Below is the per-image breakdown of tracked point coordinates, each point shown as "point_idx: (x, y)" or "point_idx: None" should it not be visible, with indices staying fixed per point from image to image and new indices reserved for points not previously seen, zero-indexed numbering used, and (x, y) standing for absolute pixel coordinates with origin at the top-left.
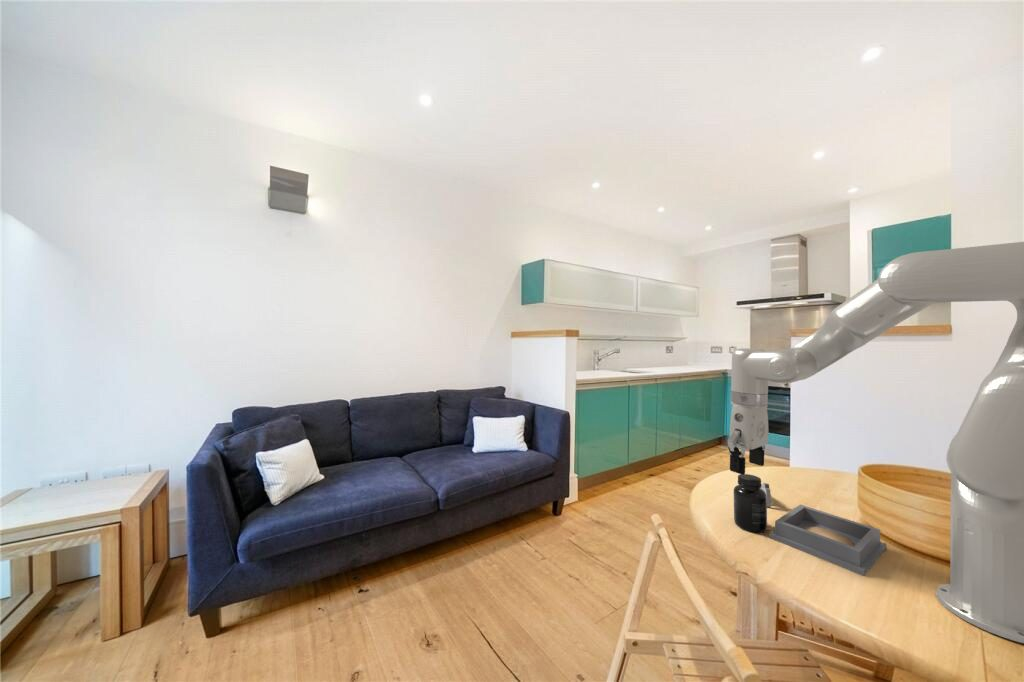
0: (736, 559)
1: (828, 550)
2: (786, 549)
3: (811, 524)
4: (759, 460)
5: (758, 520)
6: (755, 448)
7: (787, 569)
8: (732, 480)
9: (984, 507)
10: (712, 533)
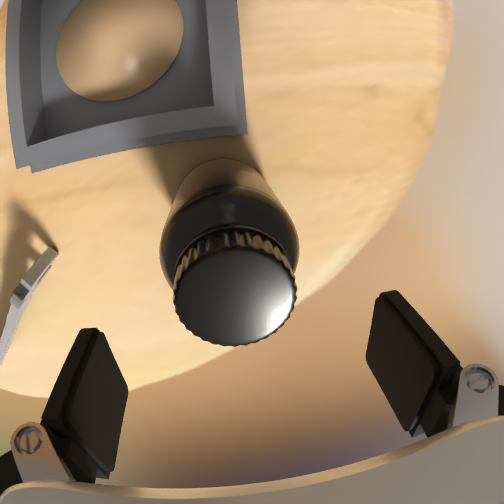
0: (424, 136)
1: None
2: (271, 75)
3: (60, 110)
4: (98, 367)
5: (254, 173)
6: (379, 456)
7: (370, 43)
8: (28, 373)
9: None
10: (361, 232)
